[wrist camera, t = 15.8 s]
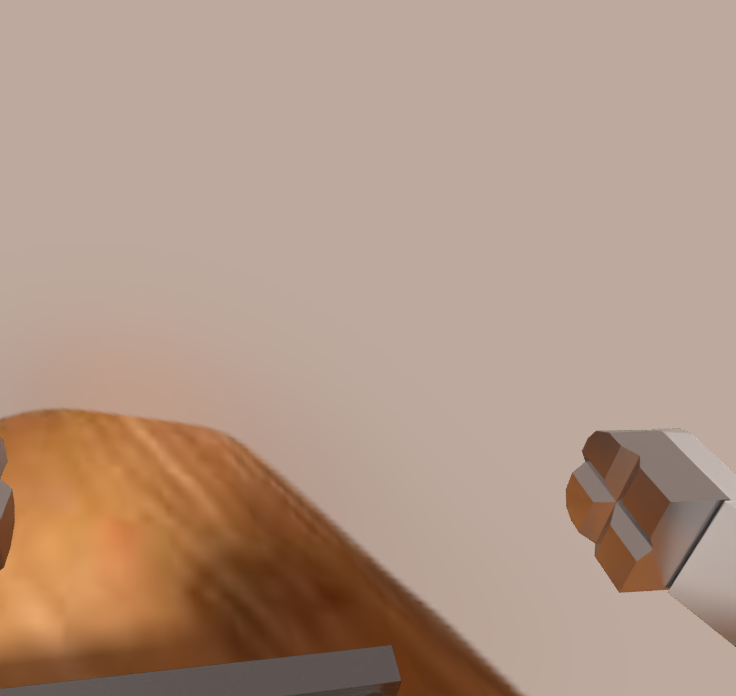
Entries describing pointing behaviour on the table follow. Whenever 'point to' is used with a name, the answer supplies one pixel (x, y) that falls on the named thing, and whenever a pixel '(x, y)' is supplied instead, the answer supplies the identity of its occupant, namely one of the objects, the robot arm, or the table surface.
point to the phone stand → (375, 694)
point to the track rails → (248, 678)
